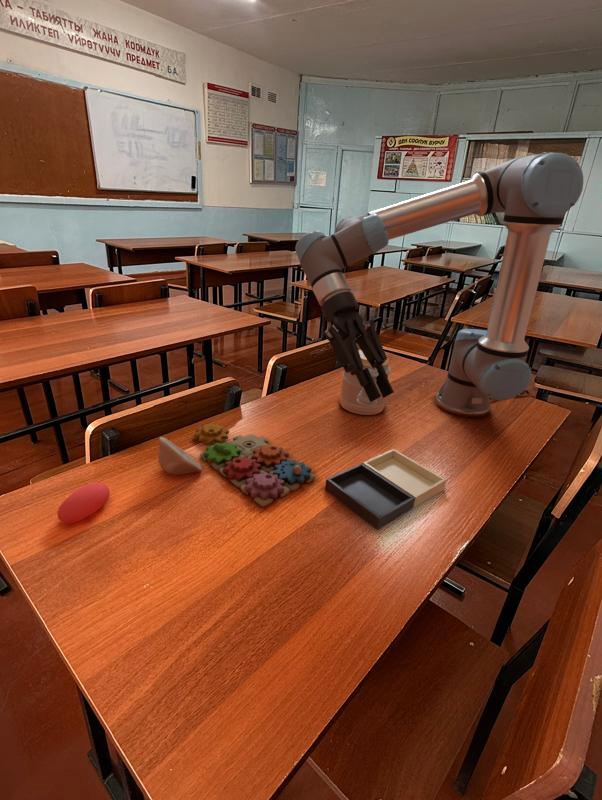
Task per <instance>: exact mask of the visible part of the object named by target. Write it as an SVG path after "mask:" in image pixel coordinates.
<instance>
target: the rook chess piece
mask: <svg viewBox="0 0 602 800" xmlns="http://www.w3.org/2000/svg"><path fill="white" fill-rule="evenodd" d="M366 368H368V370H369V372H370V374H371V376H372V378H373V380H374V383H376V381H377V380H376V377H377V376H378V375H379V373H378V369H376V368H374V369H372V367H370V369H369V367H366ZM357 397H358V399H357V403H358V404H359V405H361V406H363V407H369V408H370V407H374V406H375V405H376V404H377V399H376V400H374V401H372V402H370V400H369V398H368V396H367V394H366V392H365V390H364V387H363V388H362V390H361V391H360V393H359V394H358V396H357Z"/></svg>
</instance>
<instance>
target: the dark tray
mask: <svg viewBox="0 0 602 800" xmlns="http://www.w3.org/2000/svg"><path fill="white" fill-rule="evenodd" d="M324 489H325V491H327V492H328V493H330V494H331V495H332V496H333V497H334V498H336V499H337V500H338V501H340V502H341V503H342V504H343V505H345V506H346V507H348V508H349V509H350V510H352V512H354V513H355V514H357V515H358V516H359V517H360V518H361V519H363V520H365V522H367V523H368V524H370V525H371V526H372V527H374V528H375V529H376V530H380V529H381V528H382V527H385V526H386V525H388V524H390V523H391V522H393V521H394V520H396V519H398V518H399V517H401V516H402V515H405V514H406V513H408V512H410V510H412V509H414V508H413V504H414V500H415V498H414V497H412V496H411V495H409V494H408V493H406V492H405V491H403V490H402V489H400V488H399V487H397V486H396V485H394V484H393V483H391V482H390V481H388V480H386V479H385V478H383V477H382V476H380V475H379V474H377V473H376V472H374V471H373V470H371V469H370V468H368V467H367V466H365V465H364V464H363V462H362V463H361V462H360V463H359V464H356V465H354V466H352V467H350V468H347V469H345V470H343V471H341V472H338V473H336V474H334V475H332V476H329V477H327V478H326V479H325V486H324Z"/></svg>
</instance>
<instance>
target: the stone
mask: <svg viewBox="0 0 602 800" xmlns="http://www.w3.org/2000/svg"><path fill="white" fill-rule="evenodd" d="M158 449H159V450H158V464H159V467H160V468H161V469H162V470H164V471H165V472H166V473H168V474H170V475H179V476H180V475H185V474H186V475H187V474H191V473H195V472H202V471H203V467H202V466H201V465H200V464H199V463H197V461H196V460H195V459H194V458H193V457H192V455H190V454H189V453H188V452H186V451H185V450H184V449H182V448H181V447H179V446H178V445H176V444H175V443H173V442H172V441H171V440H169V439H168V438H166V437H164V436H160V437H159V438H158Z"/></svg>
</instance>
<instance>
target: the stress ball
mask: <svg viewBox="0 0 602 800" xmlns="http://www.w3.org/2000/svg"><path fill="white" fill-rule="evenodd" d="M110 495H111V494H110V488H109V487H108V485H107V484H105V483H104V482H101V481H92V482H89V483H87V484H86V483H85V485H83V486H81V487H79V488H78V489H75V491H73V492H72V493H70V494H69V495H68V496H67V497H66V498H65V499H64V500H63V501H62V503H61V504H60V506H59V507H58V509H57V513H56V514H57V518H58V520H59V521H60V522H61V523H63V524H73V523H76V522H79V521H82V520H84V519H86V518H88V517H89V516H91V515H92V514H94V513H95V512H96V511H97V510H99V509H101V508H102V507H103V506H104V505H105V504H106V503H107V501H108V500H109V497H110Z"/></svg>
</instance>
